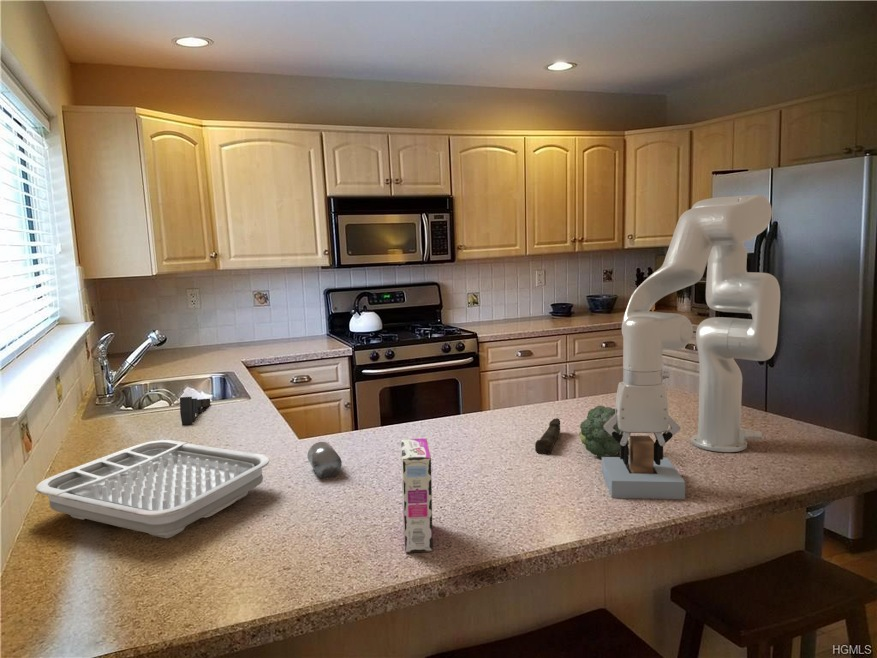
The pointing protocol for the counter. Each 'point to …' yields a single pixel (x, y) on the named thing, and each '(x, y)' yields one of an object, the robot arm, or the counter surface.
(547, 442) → the charcoal colored rounded log
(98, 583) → the counter surface
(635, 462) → the square bit
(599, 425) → the vegetable
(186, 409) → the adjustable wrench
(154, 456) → the dish rack
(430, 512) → the candy bar box
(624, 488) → the socket block
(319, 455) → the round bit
